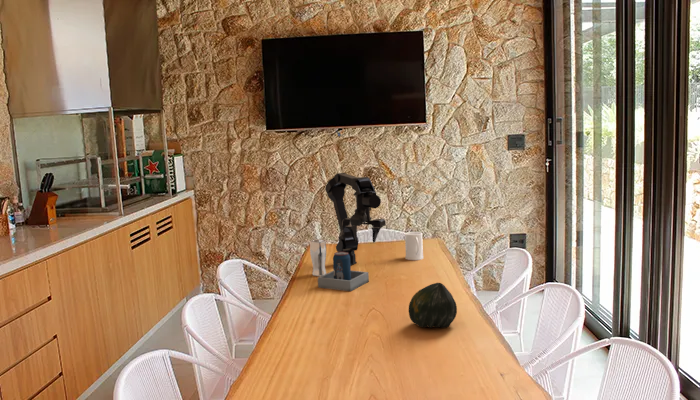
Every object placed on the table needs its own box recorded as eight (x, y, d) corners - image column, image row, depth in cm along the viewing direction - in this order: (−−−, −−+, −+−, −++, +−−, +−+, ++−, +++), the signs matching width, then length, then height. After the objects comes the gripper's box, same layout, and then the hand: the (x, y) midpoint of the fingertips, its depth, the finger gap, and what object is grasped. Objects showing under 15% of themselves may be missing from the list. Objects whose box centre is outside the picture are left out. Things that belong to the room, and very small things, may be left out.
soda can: (348, 279, 254) (347, 250, 252) (353, 283, 247) (351, 253, 246) (332, 280, 252) (330, 252, 251) (336, 285, 246) (335, 255, 244)
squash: (398, 303, 204) (412, 277, 193) (438, 299, 209) (454, 273, 198) (412, 341, 195) (428, 316, 184) (454, 336, 200) (471, 311, 189)
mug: (426, 261, 284) (425, 235, 282) (407, 262, 283) (407, 236, 282) (421, 255, 295) (421, 231, 294) (404, 256, 295) (403, 231, 293)
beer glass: (328, 272, 270) (326, 238, 268) (326, 276, 263) (324, 242, 261) (312, 272, 271) (311, 239, 269) (310, 276, 264) (308, 242, 262)
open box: (318, 287, 247) (317, 277, 247) (337, 278, 260) (336, 269, 259) (350, 291, 240) (350, 281, 239) (368, 281, 253) (368, 272, 252)
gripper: (334, 208, 264) (336, 244, 266) (373, 209, 255) (374, 246, 257) (347, 204, 274) (349, 239, 276) (385, 205, 265) (387, 241, 266)
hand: (364, 241), depth 268 cm, fingers open, 9 cm apart
